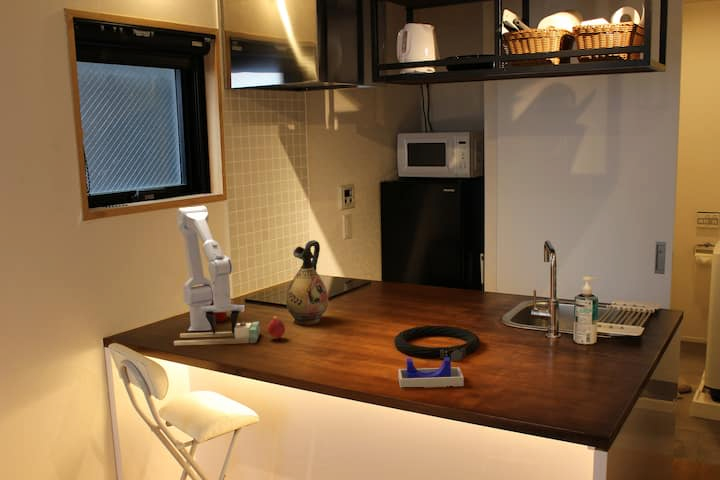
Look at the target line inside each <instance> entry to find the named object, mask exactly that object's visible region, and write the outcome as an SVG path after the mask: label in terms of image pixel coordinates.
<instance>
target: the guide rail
mask: <svg viewBox="0 0 720 480" xmlns="http://www.w3.org/2000/svg"><path fill="white" fill-rule="evenodd" d="M260 332H261V331H260V321H253V322H252V326H251V328H250V330H249V335H250V338H241V339H235V338H225V337H235V332H234V333H232V331H216V333H215V334H213V331H212V332H211V331H209V332H206V331H205V332H182V333H180V334H179V339H180V340H174V341H173V345H174V346H200V345H203V346H205V345H206V346H207V345H231V344H232V345H233V344H256V343H257V341H258V339H259V336H260V335H261V334H260ZM216 337H217V338H216ZM220 337H221V338H220ZM223 337H224V338H223ZM191 338H195V339H191ZM196 338H210V339H196ZM211 338H216V339H211ZM181 339H182V340H181ZM183 339H185V340H183ZM186 339H188V340H186ZM189 339H190V340H189Z"/></svg>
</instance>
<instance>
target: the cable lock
mask: <svg viewBox="0 0 720 480" xmlns="http://www.w3.org/2000/svg"><path fill="white" fill-rule="evenodd" d="M435 336H440V337H452V338H456V339H461V340H464V341H465V343H463V344H457V345H453V346H452V345H451V346H440V347H439V346H438V347H437V346H435V347H432V346H423V345H418V344H417V345H416V344H413V343H409V342H408V341H410V340H413V339H416V337H417V338H423V337H435ZM480 341H481V340H480V337H479V336H478V335H477V334H476V333H475V332H473V331H472V330H469V329H466V328H462V327H460V326H459V327H458V326H450V325H423V326H414V327H412V328H407V329H403V330H402V331H400V332H399V333H398V334H397V335H396V336H395V337H394V339H393V343H394V347H395V348H396V350H398V351H400V352H401V351H402V352H401V353H403V354H405V355H409V356H411V355H412V357H415V356H416V358H422V359H429V358H431V359H432V360H433V359H434V358H435V359H439V358H440V360H442V359H444V357H449V358H450V360H452V362H459V360H460V361H461V360H462V359H463V358H464V357H465V356H467V355H469V354H472V353H474V352H475V351H477V350H478V349H479V347H480V344H481V342H480ZM441 358H442V359H441Z"/></svg>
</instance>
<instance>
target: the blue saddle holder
mask: <svg viewBox="0 0 720 480" xmlns="http://www.w3.org/2000/svg"><path fill="white" fill-rule="evenodd" d="M451 365H452V362H451V360H450V358H449V357H444V360H442V364H441V365H440V367H438V368H439V369H438V370H437V371H435V372H432V373H423V372H420V371H419V370H417V369H418V368H416V366H415V365H414V360H413V358H412V357H411V358H410V357H409V358H408V357H407V358H406V369H407V378H436V377H444V376H446V375H447V376H446V377H451V367H452V366H451ZM407 378H406V379H407Z"/></svg>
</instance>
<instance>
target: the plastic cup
mask: <svg viewBox="0 0 720 480" xmlns="http://www.w3.org/2000/svg"><path fill="white" fill-rule="evenodd" d="M231 289H232V288H231V287H230V290H231ZM212 305H214V301H212V303H211V304H210V306H212ZM227 313H228V312H215V322H222V321H223V322H224V321H225V320H226V319H227Z"/></svg>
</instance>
